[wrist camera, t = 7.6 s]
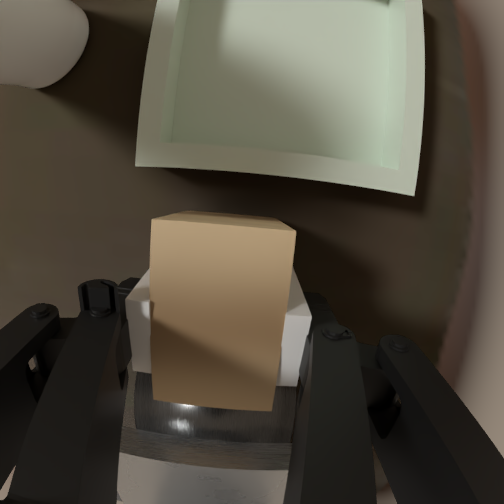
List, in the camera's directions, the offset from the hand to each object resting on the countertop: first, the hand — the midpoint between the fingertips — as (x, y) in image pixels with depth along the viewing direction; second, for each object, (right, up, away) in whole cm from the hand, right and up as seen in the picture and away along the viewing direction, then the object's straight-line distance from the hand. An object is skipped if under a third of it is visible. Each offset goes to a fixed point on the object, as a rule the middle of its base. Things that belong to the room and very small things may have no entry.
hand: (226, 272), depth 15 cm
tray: (+3, +10, -3) cm, 11 cm away
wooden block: (0, 0, 0) cm, 0 cm away
